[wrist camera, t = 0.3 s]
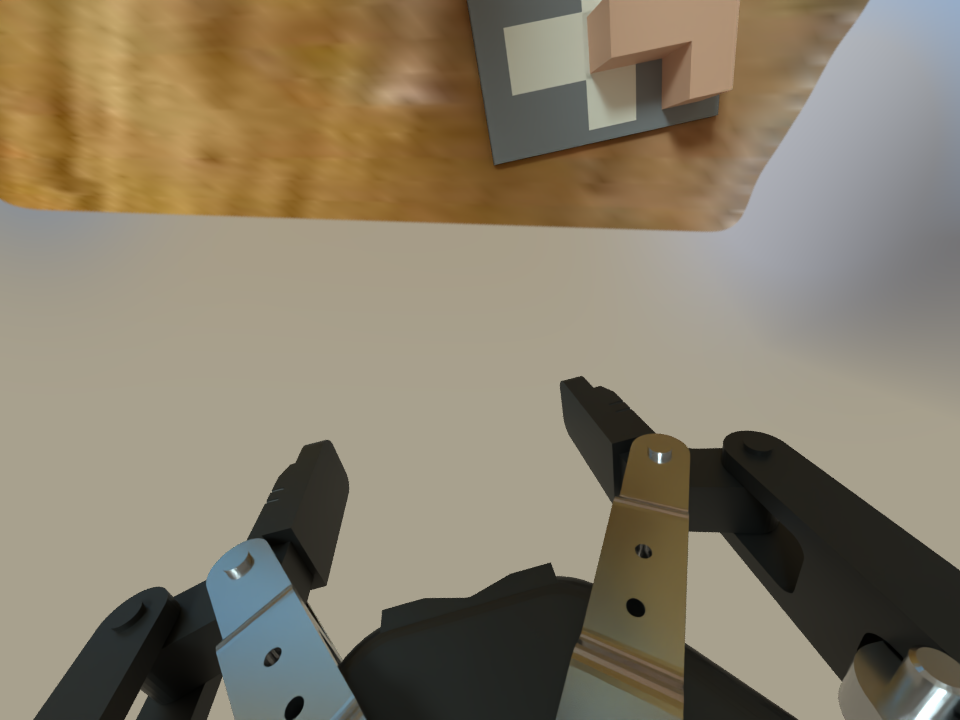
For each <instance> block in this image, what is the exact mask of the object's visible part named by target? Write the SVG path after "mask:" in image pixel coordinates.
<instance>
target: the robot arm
mask: <svg viewBox="0 0 960 720" xmlns="http://www.w3.org/2000/svg"><path fill="white" fill-rule="evenodd" d="M560 391H561V400H562V408H563V417H564V423H565V426H566V429H567V432H568V434H569V436H570V437H571V439H572V441H573V442H574V443H575V445H576V447H577V448H578V450H579V451H580V453H581V455H582V456H583V458H584V459H585V461H586V463H587V464H588V466H589V467H590V469H591V470H592V472H593V474H594V475H595V477H596V478H597V480H598V482H599V483H600V484H601V486H602V488H603V489H604V491H605V493H606V494H607V496H608V497H609V499H610V501H611V502H612V504H613V505H612V509H611V513H610V517H609V522H608V525H607V530H606V533H605V538H604V542H603V546H602V550H601V554H600V558H599V562H598V566H597V571H596V575H595V579H594V583H590V582H587V581H585V580H581V579H577V578H572V577H562V576H555V573H554V570H553V568H552V565H551V563H547V564H544V565H540V566H537V567H533V568H530V569H526V570H523V571H519V572H516V573H512V574H510V575H508V576H506V577H505V578H502V579H501V580H499V581H497V582H496V583H494V584H492V585H490V586H489V587H487V588H485V589H484V590H482V591H480V592H478V593H477V594H475V595H473V596H471V597H468V598H424V599H420V600H416V601H413V602H409V603H406V604H402V605H399V606H395V607H392V608H388V609H385V610H382V620H381V627H380V628H378V629H377V630H375V631H374V632H372V633H371V634H370V635H368V636H367V637H365V638H364V639H363V640H362V641H361V642H360V643H359V644H358V645H356V646H355V647H354V648H353V650H352V651H351V652H350V653H349V654H348V655H347V656H346V657H345V658H344V660H342V658H341V656H340V655H339V653H338V652H337V650H336V648H335V647H334V645H333V643H332V642H331V640H330V638H329V636H328V635H327V633H326V632H325V630H324V628H323V626H322V625H321V623H320V621H319V620H318V618H317V616H316V615H315V613H314V611H313V610H312V608H311V606H310V605H309V603H308V602H307V600H308V596H309V592H310V590H312V589H316V588H320V587H323V586H326V585H327V581H328V577H329V573H330V568H331V565H332V561H333V556H334V552H335V548H336V544H337V540H338V535H339V531H340V527H341V522H342V519H343V514H344V510H345V506H346V502H347V498H348V493H349V481H348V477H347V474H346V472H345V470H344V467H343V465H342V463H341V461H340V459H339V457H338V455H337V453H336V450H335V448H334V446H333V444H332V443H331V441H329V440H324V441H320V442H316V443H312V444H309V445H305V446H304V447H303V448H302V450H301V452H300V454H299V456H298V459H297V461H296V463H294V464H291V465H290V466H289V467H288V468H287V469H286V470H285V471H284V472H283V473H282V474H281V475H280V476H279V477H278V480H277V481H276V483H275V485H274V487H273V489H272V493H270V495H269V497H268V499H267V504H265V505H264V507H263V509H262V511H261V513H260V515H259V517H258V519H257V521H256V523H255V525H254V527H253V529H252V531H251V533H250V535H249V537H248V539H247V541H245V542H242V543H240V544H238V545H237V546H235V547H233V548H232V549H231V550H229V551H228V552H226V553H225V554H224V555H223V556H222V557H221V558H220V559H219V560H218V561H217V562H216V563H215V565H214V566H213V567H212V569H211V570H210V572H209V574H208V577H207V580H206V581H204V582H202V583H200V584H198V585H196V586H194V587H192V588H190V589H188V590H186V591H185V592H182V593H180V594H178V595H177V596H174V597H173V596H172V595H170V593H169V592H168V591H167V590H166V589H165V588H163V587H153V588H150V589H147V590H144V591H142V592H140V593H138V594H136V595H134V596H133V597H131V598H129V599H128V600H126V601H125V602H124V603H122V604H121V605H120V606H119V607H117V608H116V609H115V610H114V611H113V612H112V613H111V614H110V615H109V616H108V617H107V618H106V619H105V620H104V621H103V622H102V623H101V624H100V626H99V627H98V628H97V630H96V631H95V633H94V634H93V636H92V637H91V638H90V640H89V641H88V642H87V644H86V645H85V647H84V648H83V650H82V651H81V653H80V654H79V655H78V657H77V658H76V660H75V661H74V662H73V664H72V665H71V667H70V668H69V670H68V671H67V673H66V674H65V676H64V677H63V678H62V680H61V681H60V682H59V684H58V686H57V687H56V688H55V690H54V691H53V693H52V694H51V695H50V697H49V698H48V700H47V701H46V703H45V704H44V705H43V707H42V708H41V710H40V711H39V712H38V714H37V715H36V717H35V718H34V720H124V719H125V717H126V715H127V714H128V712H129V710H130V708H131V706H132V704H133V702H134V700H135V698H136V696H137V694H138V693H139V691H140V689H141V690H142V691H143V692H144V693H146V694H147V695H148V697H147V699H146V701H145V703H144V705H143V707H142V709H141V711H140V713H139V715H138V717H137V719H136V720H207V717H208V715H209V712H210V709H211V706H212V703H213V701H214V698H215V696H216V692H217V690H218V687H219V685H220V682H221V679H222V676H223V679H224V683H225V686H226V690H227V693H228V697H229V701H230V704H231V708H232V711H233V715H234V719H235V720H798V719H797V718H795V717H794V716H792V715H791V714H789V713H788V712H786V711H785V710H783V709H782V708H780V707H779V706H777V705H776V704H775V703H773V702H771V701H770V700H769V699H767V698H766V697H764V696H763V695H761V694H760V693H758V692H757V691H755V690H754V689H752V688H751V687H749V686H748V685H746V684H745V683H743V682H742V681H741V680H739V679H738V678H736V677H735V676H733V675H732V674H730V673H729V672H727V671H726V670H724V669H723V668H721V667H720V666H718V665H717V664H715V663H714V662H712V661H711V660H709V659H708V658H707V657H705V656H703V655H702V654H701V653H699V652H698V651H696V650H695V649H693V648H692V647H690V646H689V645H687V644H686V643H685V623H686V592H687V562H688V532H689V531H692V532H720V533H721V534H722V535H723V537H724V538H725V539H726V540H727V541H728V543H729V544H730V545H731V546H732V547H733V549H734V550H735V551H736V552H737V554H738V555H739V556H740V557H741V558H742V559H743V561H744V562H745V563H746V565H747V566H748V567H749V568H750V570H751V571H752V572H753V573H754V575H755V576H756V577H757V578H758V579H759V581H760V582H761V583H762V584H763V586H765V588H766V589H767V590H768V592H769V593H770V594H771V595H772V596H773V598H774V599H775V600H776V601H777V602H778V604H779V605H780V606H781V608H782V609H783V610H784V611H785V612H786V614H787V615H788V616H789V617H790V619H791V620H792V621H793V622H794V623H795V625H796V626H797V627H798V628H799V630H800V631H801V632H802V633H803V634H804V636H805V637H806V638H807V639H808V640H809V642H810V643H811V644H812V645H813V647H814V648H815V649H816V650H817V651H818V653H819V654H820V655H821V656H822V658H823V659H824V660H825V661H826V662H827V664H828V665H829V666H830V667H831V669H832V670H833V671H834V672H835V674H836V675H837V676H838V677H839V678H840V680H841V681H842V683H841V685H840V688H839V695H838V699H839V705H840V708H841V711H842V714H843V716H844V718H845V720H960V571H959V569H957V568H956V567H954V566H953V565H952V564H950V563H949V562H948V561H946V560H945V559H943V558H942V557H941V556H939V555H938V554H936V553H935V552H934V551H932V550H931V549H930V548H928V547H927V546H926V545H924V544H923V543H921V542H920V541H919V540H917V539H916V538H915V537H913V536H912V535H911V534H909V533H908V532H906V531H905V530H904V529H902V528H901V527H900V526H898V525H897V524H895V523H894V522H893V521H891V520H890V519H889V518H887V517H886V516H885V515H883V514H882V513H880V512H879V511H878V510H876V509H875V508H873V507H872V506H871V505H869V504H868V503H867V502H865V501H864V500H863V499H861V498H860V497H858V496H857V495H856V494H854V493H853V492H852V491H850V490H849V489H847V488H846V487H845V486H843V485H842V484H841V483H839V482H838V481H836V480H835V479H834V478H832V477H831V476H830V475H828V474H827V473H826V472H824V471H823V470H821V469H820V468H819V467H817V466H816V465H815V464H813V463H812V462H810V461H809V460H808V459H806V458H805V457H804V456H802V455H801V454H799V453H798V452H797V451H795V450H794V449H792V448H791V447H790V446H788V445H787V444H786V443H784V442H783V441H781V440H780V439H778V438H776V437H773V436H771V435H768V434H765V433H761V432H754V431H738V432H734V433H731V434H729V435H728V436H726V438H725V439H724V441H723V448H715V449H714V448H713V449H711V448H710V449H691V448H687V447H686V445H685V444H684V443H683V442H681V441H680V440H678V439H676V438H674V437H672V436H668V435H664V434H656V433H655V432H654V431H653V430H652V429H651V428H650V427H649V426H648V425H647V424H646V423H645V422H644V421H643V420H642V419H641V418H640V417H639V416H638V415H637V414H636V413H635V412H634V411H633V410H630V407H629V406H628V405H627V404H626V403H625V402H623V400H622V399H621V398H620V397H619V396H617V394H616V393H615V392H613V391H611V390H609V389H606V388H604V387H602V386H599V387H595V388H593V387H592V386H591V385H590V384H589V383H588V381H587V380H586V379H585V378H584V377H582V376H580V377H576V378H572V379H568V380H564V381H561V383H560Z"/></svg>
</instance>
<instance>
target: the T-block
mask: <svg viewBox="0 0 960 720" xmlns="http://www.w3.org/2000/svg"><path fill="white" fill-rule="evenodd" d="M739 5H740V0H602V1H601V2H600V3H599V4H598V5H597V7H596V8H595V9H594V10H593V11H592V12H591V13H590V14H589V15H588V16H587V29H588V47H589V64H590V74H591V73H596V72H600V71H605V70H610V69H615V68H619V67H624V66H629V65H633V64H638V63H643V62H647V61H652V60H657V59H662V109H666V108H671V107H675V106H680V105H684V104H689V103H693V102H698V101H702V100H704V99H707V98H710V97H713V96H716V95H719V94H721V93H724V92H727V91H730V90H732V89H733V77H734V65H735V53H736V41H737V29H738V17H739Z"/></svg>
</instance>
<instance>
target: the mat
mask: <svg viewBox="0 0 960 720" xmlns="http://www.w3.org/2000/svg"><path fill="white" fill-rule="evenodd" d="M601 1H602V0H467V4H468V10H469V16H470V22H471V28H472V34H473V40H474V46H475V53H476V59H477V65H478V71H479V77H480V83H481V89H482V95H483V101H484V107H485V113H486V119H487V125H488V131H489V138H490V144H491V150H492V156H493V162H494V165H497V164H502V163H506V162H510V161H515V160H519V159H524V158H528V157H533V156H537V155H542V154H546V153H551V152H555V151H560V150H564V149H569V148H573V147H577V146H582V145H586V144H591V143H595V142H600V141H604V140H609V139H613V138H618V137H622V136H627V135H631V134H635V133H640V132H644V131H649V130H653V129H658V128H662V127H667V126H671V125H676V124H680V123H685V122H689V121H694V120H698V119H702V118H707V117H711V116H715V115H718V107H719V95H716V96H713V97H710V98H707V99H704V100H702V101H698V102H693V103H689V104H684V105H680V106H675V107H671V108H666V109H662V59H657V60H652V61H647V62H643V63H638V64H633V65H629V66H624V67H619V68H615V69H610V70H605V71H600V72H596V73H591V74H590V64H589V47H588V29H587V16H588V15H589V14H590V13H591V12H592V11H593V10H594V9H595V8H596V7H597V5H598V4H599V3H600V2H601Z"/></svg>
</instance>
